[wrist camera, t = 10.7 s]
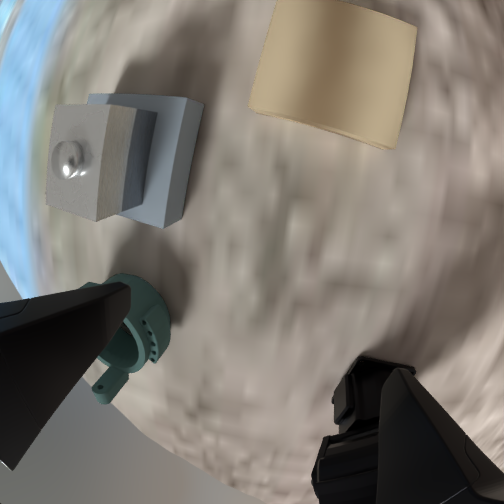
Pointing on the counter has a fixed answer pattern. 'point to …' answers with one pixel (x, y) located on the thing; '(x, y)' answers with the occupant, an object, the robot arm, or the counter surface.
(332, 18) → the stand oak
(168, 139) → the stand slate
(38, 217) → the counter surface
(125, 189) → the block
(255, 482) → the counter surface
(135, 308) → the bracket
